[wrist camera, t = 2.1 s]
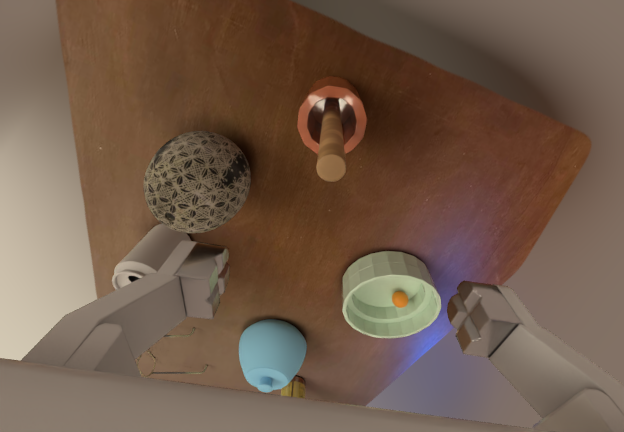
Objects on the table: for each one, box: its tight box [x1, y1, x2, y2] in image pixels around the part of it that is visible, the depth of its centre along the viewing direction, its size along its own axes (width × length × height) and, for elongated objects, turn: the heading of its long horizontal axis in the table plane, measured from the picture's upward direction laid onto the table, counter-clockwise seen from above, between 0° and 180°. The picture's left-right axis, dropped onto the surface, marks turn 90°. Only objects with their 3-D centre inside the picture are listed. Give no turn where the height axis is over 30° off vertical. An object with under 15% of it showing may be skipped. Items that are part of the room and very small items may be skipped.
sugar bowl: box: [239, 319, 307, 392], centre depth 59 cm, size 15×15×12 cm
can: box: [112, 224, 191, 290], centre depth 45 cm, size 8×8×12 cm
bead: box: [392, 291, 409, 308], centre depth 51 cm, size 3×3×3 cm
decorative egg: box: [144, 131, 251, 233], centre depth 34 cm, size 12×12×15 cm
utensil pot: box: [297, 76, 367, 154], centre depth 32 cm, size 7×7×9 cm
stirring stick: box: [317, 99, 346, 182], centre depth 27 cm, size 2×2×20 cm
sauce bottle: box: [281, 376, 305, 398], centre depth 66 cm, size 7×6×20 cm
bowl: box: [342, 251, 441, 338], centre depth 49 cm, size 16×16×6 cm
